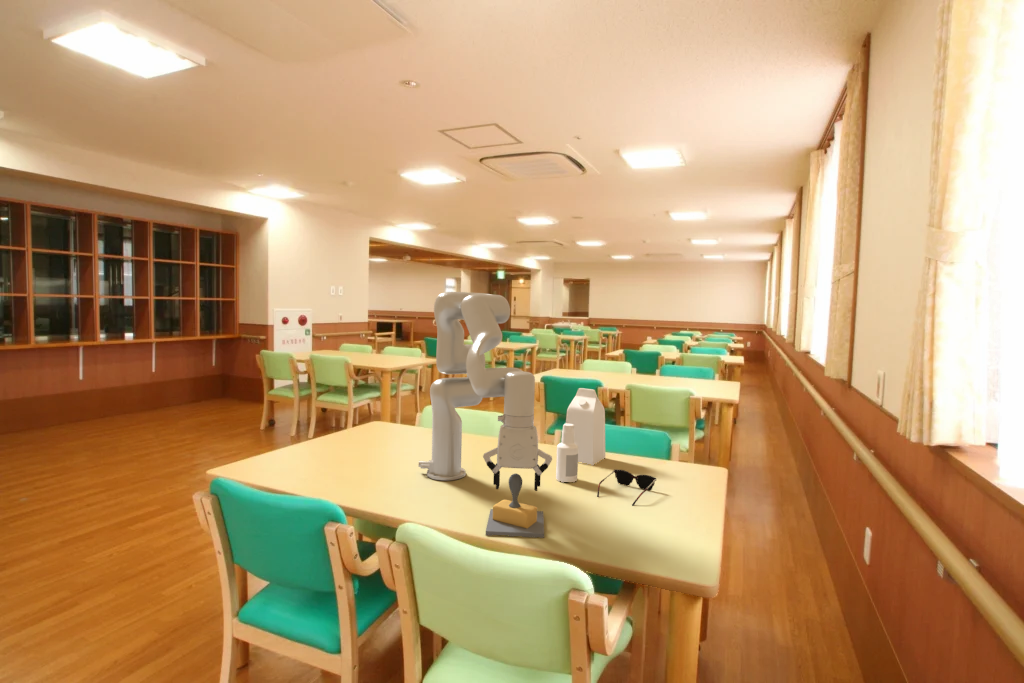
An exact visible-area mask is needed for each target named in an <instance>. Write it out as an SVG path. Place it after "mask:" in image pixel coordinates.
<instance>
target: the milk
mask: <svg viewBox="0 0 1024 683" xmlns="http://www.w3.org/2000/svg"><path fill="white" fill-rule="evenodd" d="M605 411H606V410H605V407H604V405H603V403H602V402H601V400H600V398H599V397H598V395H597V392H596V389H592V388H584V387H579V388H577V391H576V394H575V396H574V397H573V399H572V400H571V402H570V403H569V405H568V407H567V409H566V418H565V424H567V423H568V424H573V425H574V443H575V444H576V445H577V446H578V462H582V463H587V464H586V465H588V464H591V465H590V466H595V465H596V464H598V463H600V462H601V461H600V460H602V459H603V460H605V459H606V412H605ZM604 458H605V459H604ZM603 460H602V461H603ZM599 461H600V462H599ZM597 462H598V463H597ZM582 463H581V464H582ZM595 463H596V464H595ZM594 464H595V465H594Z"/></svg>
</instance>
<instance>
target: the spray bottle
mask: <svg viewBox="0 0 1024 683" xmlns="http://www.w3.org/2000/svg"><path fill="white" fill-rule="evenodd" d="M578 464H579V463H578V446H577V445H576V444H575V443H574V425H573V424H568V423H567V424H566V423H564V424H563V425H562V431H561V442H559V443H558V444H557V446H556V468H555V479H557V481H558V482H560V481H561V482H560V483H564V482H573V483H576V482H577V480H578V470H579V468H578V467H579V465H578ZM575 481H576V482H575Z"/></svg>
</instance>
